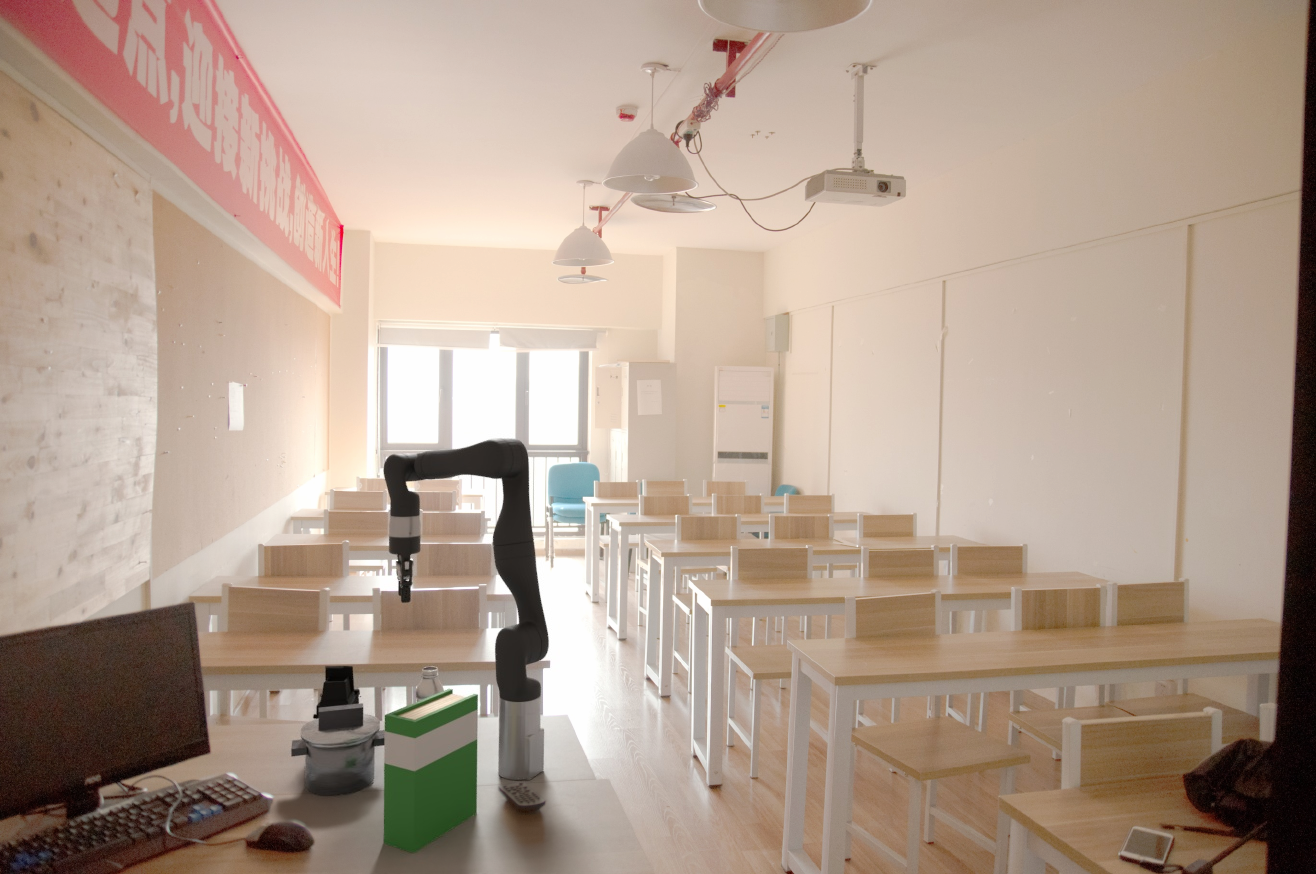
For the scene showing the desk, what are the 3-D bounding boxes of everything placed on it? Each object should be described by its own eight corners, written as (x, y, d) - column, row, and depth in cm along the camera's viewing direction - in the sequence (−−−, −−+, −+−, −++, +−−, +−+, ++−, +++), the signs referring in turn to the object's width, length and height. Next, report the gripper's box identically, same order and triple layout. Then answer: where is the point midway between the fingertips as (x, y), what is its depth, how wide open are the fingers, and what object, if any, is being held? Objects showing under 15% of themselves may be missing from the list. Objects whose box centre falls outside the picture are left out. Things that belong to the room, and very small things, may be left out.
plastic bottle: (436, 759, 194) (437, 673, 194) (409, 756, 196) (410, 671, 195) (448, 748, 201) (449, 665, 200) (422, 746, 202) (423, 663, 202)
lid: (378, 715, 192) (378, 692, 192) (381, 740, 177) (382, 715, 177) (302, 723, 186) (302, 699, 186) (299, 749, 171) (299, 724, 171)
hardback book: (447, 805, 172) (449, 688, 171) (476, 813, 168) (477, 694, 168) (383, 843, 156) (384, 715, 155) (413, 853, 152) (415, 722, 152)
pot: (385, 762, 192) (385, 714, 192) (389, 789, 179) (389, 737, 178) (292, 774, 185) (293, 724, 185) (289, 802, 171) (290, 749, 171)
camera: (367, 736, 208) (367, 656, 207) (354, 758, 194) (355, 672, 194) (324, 738, 206) (325, 656, 206) (309, 760, 193) (310, 673, 192)
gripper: (423, 537, 203) (422, 603, 203) (417, 529, 216) (417, 592, 216) (390, 538, 200) (390, 605, 200) (387, 530, 213) (386, 594, 214)
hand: (404, 598), depth 208 cm, fingers open, 8 cm apart
